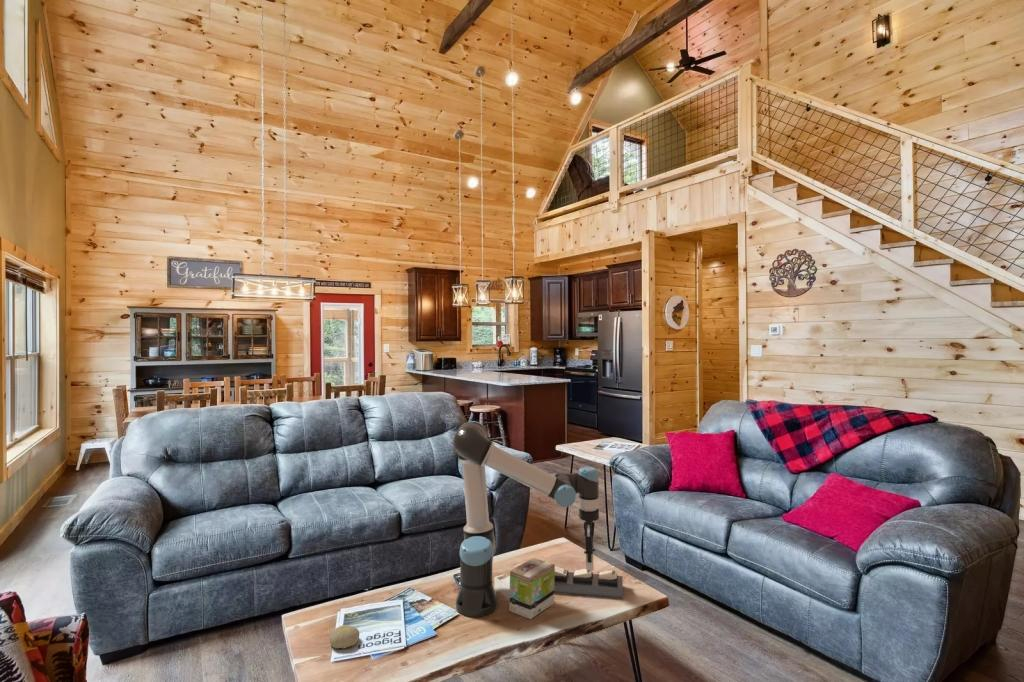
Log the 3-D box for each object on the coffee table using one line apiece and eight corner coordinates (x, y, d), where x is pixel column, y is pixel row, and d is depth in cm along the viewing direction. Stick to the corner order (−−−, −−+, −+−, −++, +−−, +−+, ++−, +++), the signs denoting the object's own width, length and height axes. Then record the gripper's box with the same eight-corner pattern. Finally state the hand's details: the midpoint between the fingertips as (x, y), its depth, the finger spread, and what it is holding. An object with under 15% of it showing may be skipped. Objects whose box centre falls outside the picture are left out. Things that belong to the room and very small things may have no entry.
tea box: (531, 620, 187) (531, 578, 187) (508, 611, 193) (508, 570, 193) (555, 603, 199) (555, 563, 199) (533, 595, 205) (532, 556, 205)
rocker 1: (549, 573, 210) (550, 569, 209) (550, 568, 214) (551, 564, 214) (565, 579, 208) (566, 574, 208) (566, 573, 213) (567, 569, 213)
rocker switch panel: (542, 592, 207) (542, 577, 207) (546, 580, 217) (546, 566, 217) (622, 598, 202) (622, 583, 201) (622, 586, 211) (622, 572, 211)
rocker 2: (574, 579, 208) (573, 575, 208) (575, 574, 212) (574, 570, 212) (591, 576, 206) (590, 572, 206) (591, 571, 211) (590, 567, 211)
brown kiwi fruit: (346, 625, 182) (356, 614, 178) (356, 647, 178) (367, 636, 174) (322, 637, 174) (331, 625, 171) (332, 660, 171) (342, 649, 167)
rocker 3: (599, 581, 206) (598, 577, 206) (600, 576, 210) (599, 572, 210) (616, 578, 205) (615, 574, 205) (616, 573, 209) (615, 569, 209)
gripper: (598, 514, 201) (599, 577, 202) (599, 503, 214) (600, 562, 214) (577, 513, 203) (578, 576, 203) (580, 502, 216) (581, 561, 216)
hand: (589, 569), depth 209 cm, fingers closed
